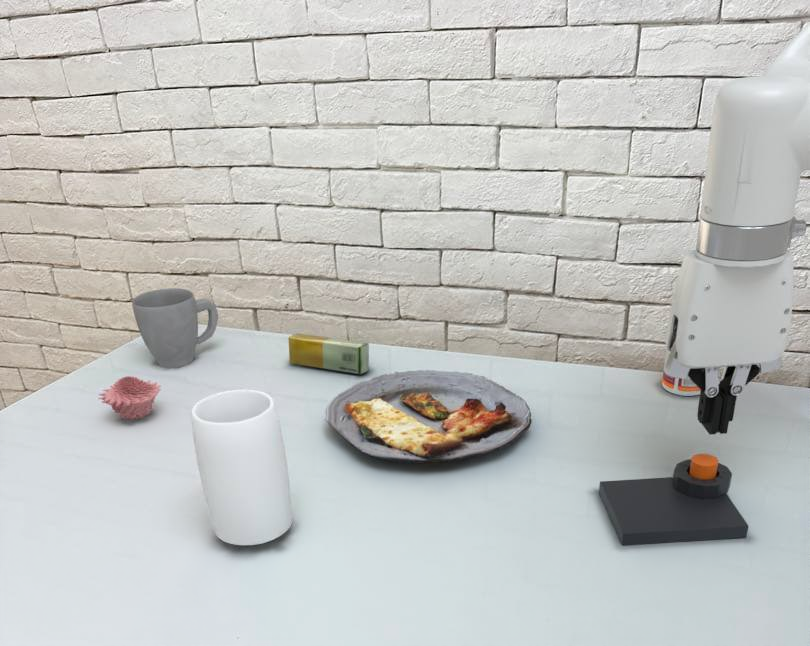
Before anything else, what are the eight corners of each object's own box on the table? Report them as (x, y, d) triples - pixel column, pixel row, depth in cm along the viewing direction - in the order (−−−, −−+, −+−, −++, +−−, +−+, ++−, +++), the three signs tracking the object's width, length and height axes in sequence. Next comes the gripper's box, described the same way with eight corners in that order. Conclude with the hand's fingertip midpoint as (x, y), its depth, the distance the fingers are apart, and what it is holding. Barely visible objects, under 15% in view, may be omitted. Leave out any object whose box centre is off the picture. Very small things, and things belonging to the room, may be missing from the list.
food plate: (568, 438, 101) (569, 411, 99) (398, 497, 91) (396, 469, 90) (452, 372, 119) (451, 348, 117) (300, 416, 110) (297, 390, 108)
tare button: (711, 467, 88) (713, 452, 87) (719, 480, 86) (722, 465, 85) (685, 469, 88) (688, 454, 87) (693, 481, 86) (696, 466, 85)
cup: (206, 523, 89) (180, 397, 81) (285, 504, 91) (266, 381, 84) (222, 566, 82) (194, 434, 75) (306, 545, 85) (288, 415, 77)
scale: (716, 482, 91) (720, 457, 89) (754, 537, 82) (759, 511, 80) (597, 489, 91) (599, 464, 89) (621, 545, 82) (624, 519, 80)
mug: (157, 377, 123) (142, 312, 117) (138, 359, 129) (123, 296, 124) (234, 357, 128) (223, 294, 123) (212, 341, 134) (201, 279, 129)
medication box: (370, 370, 121) (370, 342, 119) (361, 375, 119) (361, 347, 117) (297, 358, 126) (296, 331, 124) (288, 363, 124) (286, 336, 122)
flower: (178, 415, 112) (170, 375, 109) (123, 436, 107) (113, 396, 104) (147, 399, 117) (138, 360, 113) (93, 419, 112) (82, 379, 109)
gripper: (809, 221, 77) (773, 406, 87) (645, 233, 77) (628, 417, 88) (848, 243, 71) (804, 440, 81) (669, 256, 71) (648, 451, 81)
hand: (713, 427), depth 84 cm, fingers closed
